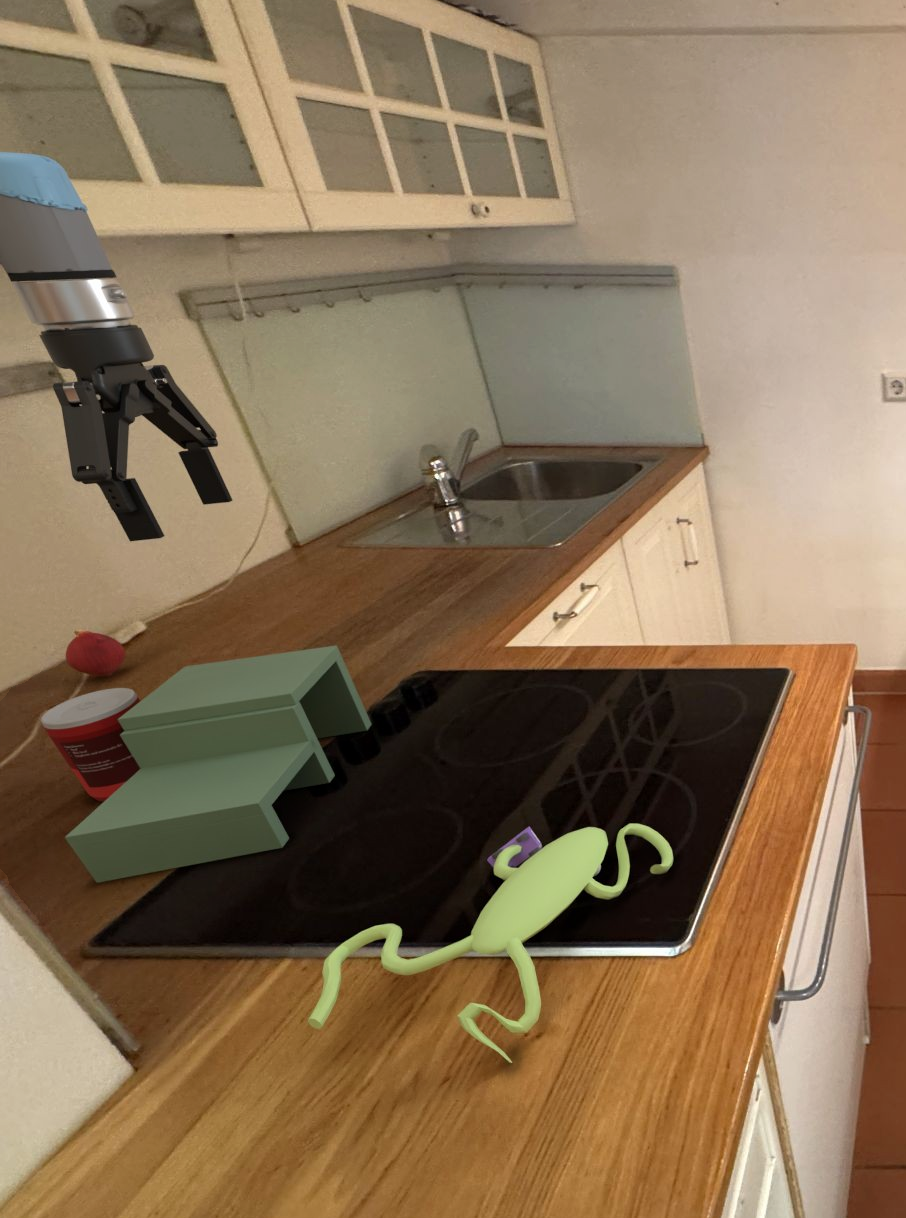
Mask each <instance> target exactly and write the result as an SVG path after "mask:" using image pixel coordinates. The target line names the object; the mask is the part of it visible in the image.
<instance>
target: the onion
mask: <svg viewBox="0 0 906 1218" xmlns="http://www.w3.org/2000/svg"><path fill="white" fill-rule="evenodd" d="M74 634H75V637H74V638H73V639H72V640H71V641H70V642H69V643H68V645H67V646H66V647H67V648H66V650H65V660H66V663H67V665H69V667H70V668H72V669H73V670H75V671H77V672H79V673H82V674H86V675H92V676H97V677H101V678H109V677H110V676H112V675H113V674H114V673H115V672H116V671H117V670H118V669H119V668H120V667H121V666H122V664H123V662H124V660H125V658H126V657H125V656H126V650H125V648H124V646H123V645H122V644H121V643H120V641H118V640H117V639H116V638H113V637H111V636H109V635H107V634H102V633H98V632H93V631H88V630H84V629H81V628H80V629H76V630H74Z"/></svg>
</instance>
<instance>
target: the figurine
mask: <svg viewBox="0 0 906 1218" xmlns="http://www.w3.org/2000/svg"><path fill="white" fill-rule="evenodd" d="M626 835H627V836H629V835H630V836H631V835H633V836H637V837H641V838H642V839H644V840H646V841H648V842H649V843H650V844H652V846H654V847H655V848H656V850H657V851H658V852H659V853H658V854H659V856H660V858H661V864H659V863H658V864H653V865H652V866H650V869H649V871H650V873H651V874H654V875H663V874H666V873H668V871H669V869H670V868H671V867H673V863H674V854H673V849H672V847H671V846H670V843H669V842H668V840H666V839H665V837H663V835H661V833H659V832H658V831H656V830H655V829H653V828H652V827H650V826H647V825H645V824H641V823H628V824H627V825H625V826H624V827H623V828H621V829H620V830H619V831H618V833H617V836H616V842H615V847H616V849H615V850H616V854H617V859H618V876H617V882H616V884H615V885H612V886H610V885H604V884H602V883H601V882H598V881H596V879H594V878H593V877H596V876H597V875H598V874H599V873H600V872H601V869H602V865H601V864H602V863H603V861H604V858H605V855H606V852H607V850H608V846H609V841H608V836H607V832H606V831H605V830H603V829H602V828H598V827H595V826H587V827H584V828H580V829H577V830H574V831H570V832H568V833H566V834H564V835H562V836H560V837H558V838H557V839H555V840H553V841H552V842H550V843H548V844H545V846H544V847H543V845H542V842H541V841H540V839H539V837H537V835H536V833H535V832H534V831H533V829H532V827H530V826H528V827H526V828H525V829H524V830H522V831H521V832H519V833H518V834H517V835H516V836H514V837H513V838H512V839H510V840H508V842H507V843H506V844H504V845H503V846H501V847H500V848H499V849H497V851H495V852H493V853H492V854H491V855H490V856H489V857H488V858H487V862H488V863H489V864H490V865H491V867H492V868H493V875H494V876H496V877H498V878H500V879H502V880H503V883H502V884H501V885H500V886H499V887H498V889H497V890H496V891H495V893H494V894H493V895H492V896H491V898H490V899H489V900H488V901H487V903H486V904H485V906H484V907H483V909H482V910H481V911H480V913H479V916H478V918H477V919H476V921H475V923H474V925H473V928H472V930H471V932H470V935H469V936H466V937H464V938H463V939H461V940H458V941H456V942H453V943H451V944H449V945H446V946H445V947H442V948H439V949H437V950H434V951H432V952H429V953H427V954H424V955H422V956H418V957H414V958H409V959H406V958H403V957H400V956H399V955H398V949H399V946H400V943H401V941H402V938H403V937H402V936H403V929H402V928H401V926H399V925H397V924H395V923H384V924H379V925H374V926H371V927H369V928H367V929H364V930H362V931H360V932H358V933H357V934H355V935H353V936H352V937H350V938H349V939H346V940H345V941H344V942H342V943H341V944H340V945H338V946H337V947H336V948H335V949H333V951H331V953H330V954H329V955H328V956H327V957H326V958H325V959H324V961H323V966H322V972H321V974H322V978H323V986H322V989H321V995H320V997H319V999H318V1001H317V1003H316V1005H315V1007H314V1009H313V1010H312V1012H311V1014H310V1016H309V1017H308V1019H307V1022H308V1024H309V1025H310V1027H312V1028H314V1029H315V1030H321V1029H323V1027H324V1025H325V1023H326V1021H327V1020H328V1018H329V1016H330V1014H331V1012H332V1010H333V1008H334V1006H335V1005H336V1002H337V1000H338V996H339V993H340V988H341V983H342V972H341V970H342V969H341V968H342V964H343V963H344V962H345V960H346V959H347V958H348V957H349V956H350V955H352V954H353V953H355V952H356V951H358V950H360V949H361V948H362V947H364V946H366V945H368V944H371V943H373V942H374V941H378V940H383V939H385V942H384V944H383V945H382V950H381V953H380V958H381V965H382V968H383V969H385V970H386V971H389V972H390V973H392V974H395V975H399V976H411V975H415V974H419V973H423V972H425V971H428V970H430V969H433V968H436V967H438V966H440V965H443V964H445V963H448V962H450V961H453V960H455V959H457V958H460V957H462V956H464V955H467V954H469V953H470V952H473V951H474V952H476V953H477V954H479V955H488V956H494V955H499V954H501V953H503V952H506V953H507V955H508V957H510V959H511V960H512V961H513V962H514V965H515V967H516V969H517V972H518V976H519V980H520V985H521V989H522V994H523V997H524V998H523V999H524V1001H525V1002H524V1003H525V1004H524V1005H525V1006H524V1007H525V1008H524V1013H523V1015H521V1017H520V1018H519V1019H518V1020H517V1021H516V1020H513V1019H507V1017H504V1016H503V1015H501V1014H500V1013H498V1012H497V1011H495V1010H494V1009H492V1008H491V1007H489V1006H487V1005H486V1004H482V1003H476V1002H469V1003H468V1004H467V1005H466V1006H465V1007H464V1008H463V1009H462V1010H461V1011H460V1012H459V1013H458V1014H457V1015H456V1017H457V1019H458V1021H459V1024H460V1026H461V1028H462V1029H463V1030H464V1031H466V1032H467V1033H468V1034H469V1035H470V1036H471V1037H473V1038H474V1039H476V1040H478V1041H479V1042H480V1043H482V1044H483V1045H485V1046H487V1047H488V1048H490V1049H493V1051H495V1052H497V1053H498V1054H500V1055H501V1056H502V1057H503V1058H504V1059H505V1060H506V1061H508V1063H511V1064H513V1061H512V1060H511V1058H510V1057H509V1056H508V1055H507V1054H506V1053H505V1052H504V1051H503V1049H501V1048H500V1047H499V1046H498V1045H497V1044H495V1042H494V1041H492V1040H491V1039H490V1038H489V1037H487V1036H486V1035H485V1034H484V1033H483V1032H482V1030H480V1028H479V1027H478V1025H477V1023H476V1021H475V1018H477V1017H478V1016H479V1015H480V1014H481V1013H483V1012H484V1013H487V1014H489V1015H491V1016H493V1017H494V1018H495V1020H496V1021H498V1022H499V1023H500V1025H502V1026H503V1027H505V1028H506V1030H508V1031H509V1032H510V1033H511V1034H528V1032H529V1031H530V1030H531V1029H532V1028H533V1026H535V1024H536V1023H538V1021H539V1018H540V1013H541V1008H542V999H541V998H542V997H541V992H540V986H539V982H538V978H537V977H538V976H537V973H536V966H535V964H534V962H533V959H532V958H531V955H530V954H529V953H528V951H527V949H526V948H525V946H524V945H523V943H525V942H526V941H528V940H529V939H530V938H532V937H534V936H535V935H537V934H538V933H539V932H541V931H543V930H544V929H545V928H546V927H548V926H549V925H550V924H551V923H552V922H553V921H554V920H555V919H556V918H558V917H559V916H560V915H561V914H563V912H564V911H566V910H567V909H568V908H569V907H570V905H571V904H572V903H573V902H574V901H575V900H576V898H577V897H579V895H580V894H581V893H582V891H583V890H584V892H585V893H587V894H589V895H591V896H593V897H594V898H597V899H603V900H612V899H615V898H617V897H620V895H621V894H622V893H623V891H624V890H625V888H626V886H627V883H628V880H629V876H630V868H631V863H630V855H629V851H628V847H627V844H626V840H625V836H626ZM517 866H518V867H517Z"/></svg>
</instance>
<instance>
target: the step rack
mask: <svg viewBox="0 0 906 1218" xmlns="http://www.w3.org/2000/svg"><path fill="white" fill-rule="evenodd" d="M118 721H119V723H120V724H121V726H122V728H123V729H124V730H125V731H124V732H123V733H121V734H120V736H121V738H122V739H123V741H124V743H125V744H126V746H127V747H128V749H129V751H130V752H131V754H132V756H133V757H134V759H135V760H136V762H137V764H138V765H139V767H140V768H141V769H140V770H139V771H138V772H136V773H135V774H134V775H133V776H132V777H131V778H130V779H129V780H128V781H127V782H125V783H124V784H123V785H122V786H121V787H120V788H119V789H118V790H117V791H115V792H114V793H113V794H112V795H111V796H110V797H109V798H108V799H107V800H105V801H104V802H103V801H102V803H101V804H100V805H99V806H97V807H96V809H94V810H93V811H92V812H91V813H90V814H89V815H87V816H86V817H85V818H84V819H83V820H82V821H81V822H80V823H78V825H76V826H75V827H74V828H73V829H72V830H71V831H70V832H68V834H66V835H65V837H64V838H65V840H66V842H67V843H68V844H69V846H70V847H71V848H72V849H73V851H74V853H75V854H76V855H77V857H78V858H79V860H80V862H81V863H82V864H83V866H84V867H85V868H86V870H87V871H88V873H89V874H90V875H91V877H92V878H93V880H94V881H95V883H96V884H99V883H104V882H105V883H106V882H110V881H114V880H119V879H124V878H131V877H136V876H140V875H141V876H142V875H146V874H147V875H148V874H151V873H157V872H162V871H166V870H173V869H178V868H183V867H188V866H193V865H198V864H204V863H208V862H214V861H220V860H225V859H230V858H235V857H242V856H246V855H252V854H257V853H263V852H267V851H272V850H278V849H282V848H284V846H285V845H286V843H287V842H288V841H289V840H290V837H289V835H288V833H287V831H286V830H285V828H284V826H283V824H282V822H281V821H280V819H279V817H278V814H277V812H276V811H275V809H274V806H273V804H274V803H275V801H276V800H277V799H278V797H279V796H280V795H281V794H282V793H283V792H285V791H289V790H297V789H303V788H308V787H314V786H320V785H326V784H330V783H331V781H332V780H333V779H334V778H335V776H336V775H335V772H334V770H333V768H332V765H331V764H330V763H329V760H328V757H327V756H326V754H325V751H324V749H323V748H322V745H321V743H320V741H319V739H324V738H330V737H336V736H341V735H349V734H354V733H361V732H366V731H368V730H369V729H370V727H371V726H372V722H371V719H370V717H369V715H368V713H367V711H366V708H365V706H364V704H363V702H362V699H361V697H360V694H359V693H358V691H357V687H356V685H355V684H354V681H353V679H352V676H351V675H350V672H349V670H348V667H347V666H346V663H345V661H344V659H343V656H342V654H341V652H340V649H339V647H338V645H329V646H323V647H315V648H308V649H301V650H293V651H287V652H279V653H278V652H277V653H272V654H265V655H257V656H251V657H243V658H236V659H230V660H222V661H213V662H207V663H201V664H200V663H199V664H193V665H187V666H183V667H182V668H181V669H180V670H178V671H177V672H176V673H174V674H173V675H172V676H171V677H169V678H168V679H167V680H165V681H164V682H163V683H161V685H159V686H158V687H157V688H155V689H154V690H153V691H152V692H150V693H149V694H148V695H147V696H145V697H144V698H143V699H141V700H140V702H139V703H138V704H136V705H135V706H134V707H133V708H131V709H130V710H129V711H128V712H126V713H125V714H124V715H122V716H121V717H120V718H119V719H118Z"/></svg>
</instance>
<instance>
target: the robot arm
mask: <svg viewBox="0 0 906 1218" xmlns="http://www.w3.org/2000/svg"><path fill="white" fill-rule="evenodd" d="M94 227H95V226H94V225H93V223H92V221H91V219H90V216H89V214H88V207H87V205H86V204H85V203H83V201H82V199H81V197H80V196H79V193H78V191H77V190H76V188H75V186H74V184H73V182H72V180H71V179H70V177H69V176H68V173H67V172H66V170H65V169H64V167H63V166H62V165H61V164H60V163H58V162H57V161H56V160H54V159H52V158H51V157H48V156H45V155H41V154H33V153H26V152H24V153H23V152H12V151H11V152H9V151H0V266H1V267H2V268H3V270H4V271H5V273H6V274H7V276H8V278H9V280H10V282H11V285H12V287H13V289H14V290H15V293H16V295H17V296H18V299H19V301H20V302H21V305H22V306H23V308H24V310H25V312H26V314H27V317H28V319H29V320H30V322H31V324H33V325H36V326H41V327H42V328H43V329H44V330H41V331H40V334H39V335H38V336H39V338H40V340H41V342H42V344H43V346H44V347H45V349H46V351H47V353H48V355H49V357H50V359H51V360H52V363H53V365H55V367H57V368H59V369H63V370H70V371H73V372H74V374H75V378H76V381H65V382H62V381H61V382H54V383H53V384H52V388H53V391H54V393H55V395H56V398H57V400H58V402H59V404H60V408H61V413H62V419H63V420H62V421H63V426H64V432H65V438H66V439H65V440H66V446H67V452H68V458H69V459H68V460H69V464H70V472H71V476H72V478H73V480H75V482H78V483H82V484H84V485H94V484H96V485H97V486H98V487H99V489H100V490H101V492H102V494H103V496H104V498H105V499H106V501H107V503H108V505H109V507H110V509H111V511H112V512H113V513H114V514H115V516H116V518H117V520H118V522H119V524H120V525H121V527H122V529H123V531H124V533H125V535H126V537H127V538H128V541H129V542H138V541H139V542H140V541H147V540H156V539H162V538H164V537H165V534H164V532H163V530H162V528H161V526H160V524H159V522H158V520H157V518H156V516H155V514H154V512H153V510H152V507H150V505H149V503H148V500H147V499H146V497H145V495H144V492H143V491H142V489H141V487H140V485H139V483H138V481H137V479H136V477H130V478H128V477H127V475H128V457H129V456H128V455H129V434H130V433H129V432H130V425H132V424H133V423H134V422H135V420H136V418H139V417H140V416H141V417H143V418H145V419H146V421H148V422H149V423H151V424H152V425H153V426H155V427H156V428H157V429H158V430H159V431H161V432H162V433H163V434H165V436H167V437H168V438H170V440H172V441H173V442H174V443H175V444H177V445H178V446H179V447H181V448H182V449H183V450H181V451H178V452H177V453H178V455H179V457H180V459H181V461H182V464H183V465H184V467H185V470H186V472H187V474H188V476H189V478H190V480H191V482H192V484H193V486H194V489H195V490H196V493H197V495H198V497H199V499H200V501H201V503H202V505H203V506H204V505H215V504H226V503H231V502H232V501H233V498H232V496H231V493H230V491H229V489H228V487H227V485H226V483H225V481H224V479H223V476H222V474H221V472H220V470H219V467H218V466H217V463H216V461H215V459H214V457H213V455H212V452H211V450H210V449H209V448H216V447H218V446H219V440H218V439H217V437H218V435H217V432H216V431H215V429H214V428H213V427H212V426H211V424H209V422H208V421H207V420H206V419H205V417H204V416H203V415H202V414H201V412H200V411H199V409H197V408H196V406H195V405H194V403H193V402H192V401H191V400H190V399H189V398H188V397H187V395H186V394H185V393H184V392H183V390H182V389H181V388H180V386H178V384H177V383H176V381H175V380H174V378H173V376H172V374H171V372H170V370H169V368H168V367H167V366H166V365H164V364H154V365H153V364H152V365H150V364H149V365H144V363H147V362H150V361H152V360H154V358H155V354H154V351H153V350H152V348H151V346H150V343H149V341H148V339H147V337H146V335H145V333H144V330H143V328H142V327H139V326H138V325H137V324H131V322H130V320H133V319H134V318H135V314H134V313H135V312H134V311H133V309H132V307H131V305H130V302H129V301H128V299H127V298H128V296H129V295H128V292H127V291H126V289H124V288H122V285H121V284H120V282H119V280H118V278H117V275H116V273H115V271H114V269H113V267H112V266H111V263H110V261H109V259H108V256H107V254H106V252H105V250H104V247H103V245H102V243H101V241H100V239H99V237H98V234H97V232H96V230H95V228H94Z"/></svg>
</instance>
